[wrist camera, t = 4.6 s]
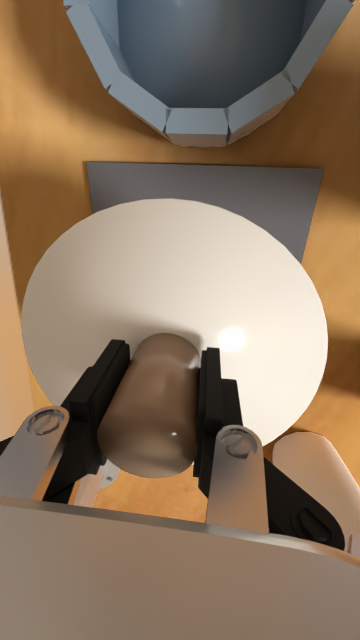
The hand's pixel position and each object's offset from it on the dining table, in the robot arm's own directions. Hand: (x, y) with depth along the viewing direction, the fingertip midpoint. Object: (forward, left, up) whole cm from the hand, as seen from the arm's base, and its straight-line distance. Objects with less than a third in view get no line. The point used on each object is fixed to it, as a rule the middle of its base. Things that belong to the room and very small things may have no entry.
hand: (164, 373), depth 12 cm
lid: (0, 0, -2) cm, 2 cm away
